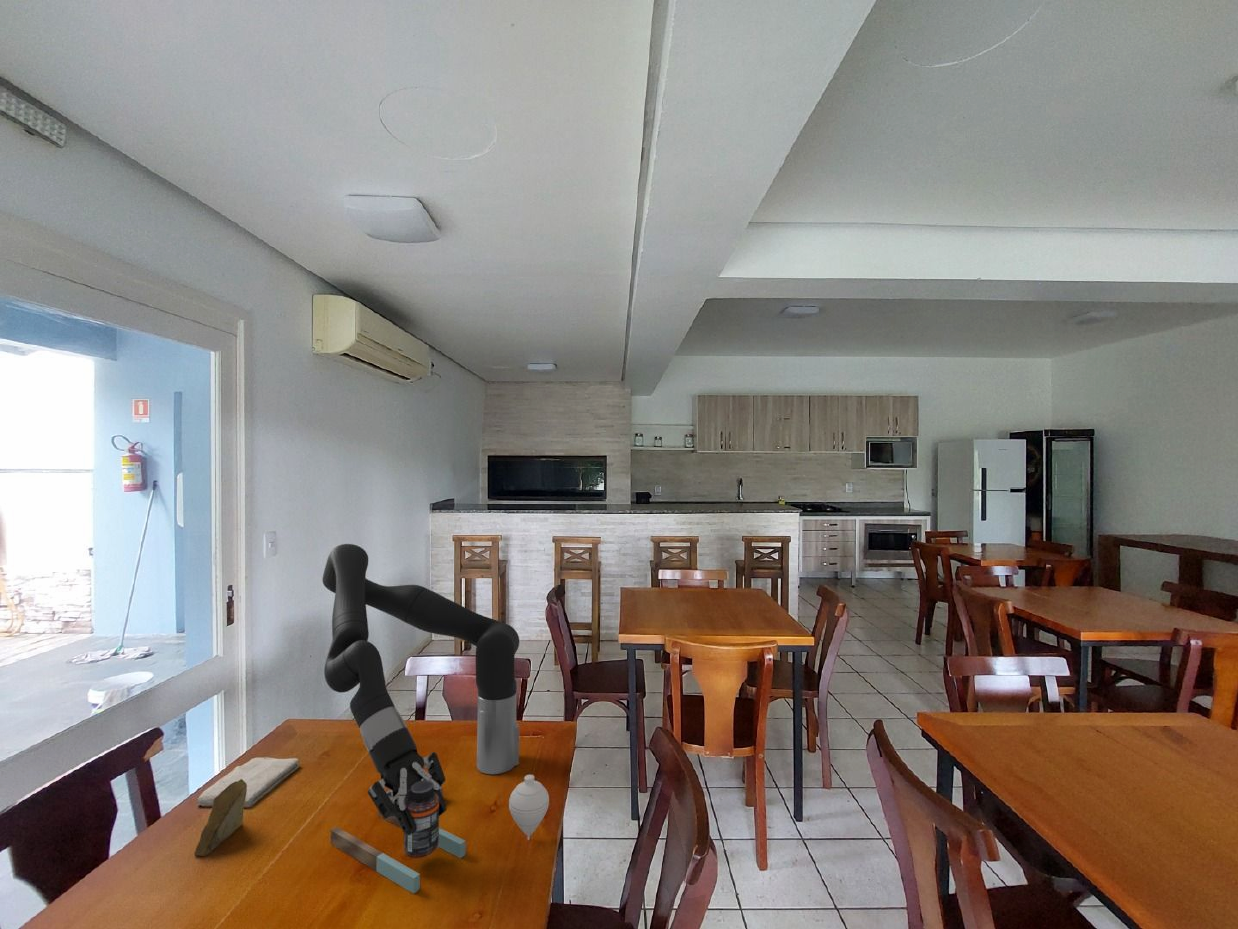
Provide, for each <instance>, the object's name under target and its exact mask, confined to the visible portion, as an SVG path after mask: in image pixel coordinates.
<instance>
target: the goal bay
mask: <svg viewBox="0 0 1238 929" xmlns="http://www.w3.org/2000/svg"><path fill="white" fill-rule="evenodd" d="M466 845H467V844H466V840H465V839H462V838H461V837H458V836H456V835H454V834H453V833H450V832H448V831H446V830H444V829H442V828H440V827H439V841H438V846H437V848H440V849H441V850H444V851H446V852H448V853H449V854H451V855H453V856H455V857H456V858H459V859H461V858H464V857H465V855H466V849H467V848H466V847H467V846H466ZM375 872H376V873H378V874H380V875H382V876H384V877H385V878H387V879H388V880H390V881H391V882H393V883H396V884H397V885H398V886H399V887H401V888H404V889H405V890H406V891H409V892H410V893H412V894H415V893H417V892H418V891H420V887H421V886H420V880H421V873H418V872H417V871H415V870H413V869H412V868H410V867H409V866H406V865H404V864H402V863H401V862H399V861H398V860H395V859H394V858H393V857H391V856H389V855H387V854H385V853H383V852H382V854H380V855H379V856H377V864H376V871H375Z"/></svg>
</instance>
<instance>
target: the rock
mask: <svg viewBox="0 0 1238 929" xmlns="http://www.w3.org/2000/svg"><path fill="white" fill-rule="evenodd" d="M246 793H247V784H246V783H245V782H244V781H243V780H242V779H240V780H239V781H235V782H234V783H232V784H230V785H229V786H228V787H227V788H225V790H223V791H222V792H221V793H220V794H219V795H218V796H217V797H215V798H214V801H213V806H212V809H211V811H210V813H209V817H208V818H207V819H208V821H207V822H206V825H204V828H203V829H202V832H201V834H200V836H199V837H200V838H199V841H198V843H197V845H196V848H195V851H194V853H193V855H194V856H201V857H203V856H204V857H205V856H207V855H209V854H210V853H211V852H212V851H213V850H214V849H216V848H217V847H218V846H220V844H221V843H222V842H223V841H224V840H226V839H228V838H229V837H230V836H231V835H232V834H233V833H234V832H235V831H236V830H237V829H239V828H240V827H241V826H242V824H243V821H244V808H245V807H244V802H245V798H246Z"/></svg>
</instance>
